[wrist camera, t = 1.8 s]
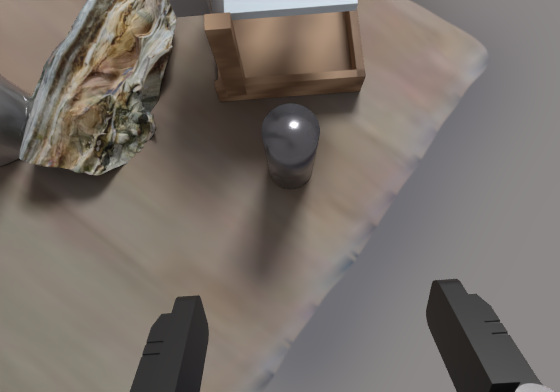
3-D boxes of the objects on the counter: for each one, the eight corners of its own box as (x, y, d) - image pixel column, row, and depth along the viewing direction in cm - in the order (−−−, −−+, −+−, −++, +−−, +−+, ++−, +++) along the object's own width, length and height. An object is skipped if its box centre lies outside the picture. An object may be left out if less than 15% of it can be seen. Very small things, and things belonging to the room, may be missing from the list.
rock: (33, 157, 42) (142, 196, 38) (-29, 142, 35) (97, 189, 32) (100, -28, 42) (213, -5, 39) (52, -78, 36) (183, -55, 32)
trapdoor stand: (220, 101, 39) (191, 31, 27) (216, -10, 42) (189, -114, 30) (359, 91, 38) (388, 15, 27) (346, -20, 41) (366, -129, 30)
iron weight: (270, 190, 36) (263, 160, 27) (268, 149, 37) (259, 105, 28) (313, 187, 36) (322, 155, 27) (310, 146, 37) (317, 101, 28)
